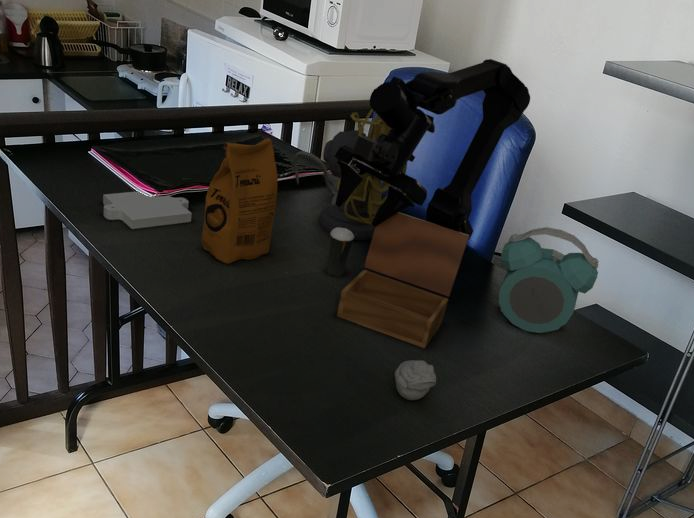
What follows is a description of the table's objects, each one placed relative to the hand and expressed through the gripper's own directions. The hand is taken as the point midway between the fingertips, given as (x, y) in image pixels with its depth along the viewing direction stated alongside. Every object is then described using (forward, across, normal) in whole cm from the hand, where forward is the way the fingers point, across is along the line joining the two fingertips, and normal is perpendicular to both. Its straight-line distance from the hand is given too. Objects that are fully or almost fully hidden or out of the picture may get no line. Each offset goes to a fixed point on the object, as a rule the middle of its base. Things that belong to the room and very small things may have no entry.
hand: (354, 215), depth 135 cm
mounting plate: (+21, -43, -4) cm, 48 cm away
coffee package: (+17, -21, +1) cm, 27 cm away
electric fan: (+1, -28, +26) cm, 38 cm away
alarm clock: (-1, +27, +29) cm, 40 cm away
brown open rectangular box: (+12, +13, +8) cm, 20 cm away
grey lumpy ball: (+21, +31, -4) cm, 38 cm away
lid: (0, +10, +7) cm, 13 cm away
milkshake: (+10, -5, +12) cm, 16 cm away
